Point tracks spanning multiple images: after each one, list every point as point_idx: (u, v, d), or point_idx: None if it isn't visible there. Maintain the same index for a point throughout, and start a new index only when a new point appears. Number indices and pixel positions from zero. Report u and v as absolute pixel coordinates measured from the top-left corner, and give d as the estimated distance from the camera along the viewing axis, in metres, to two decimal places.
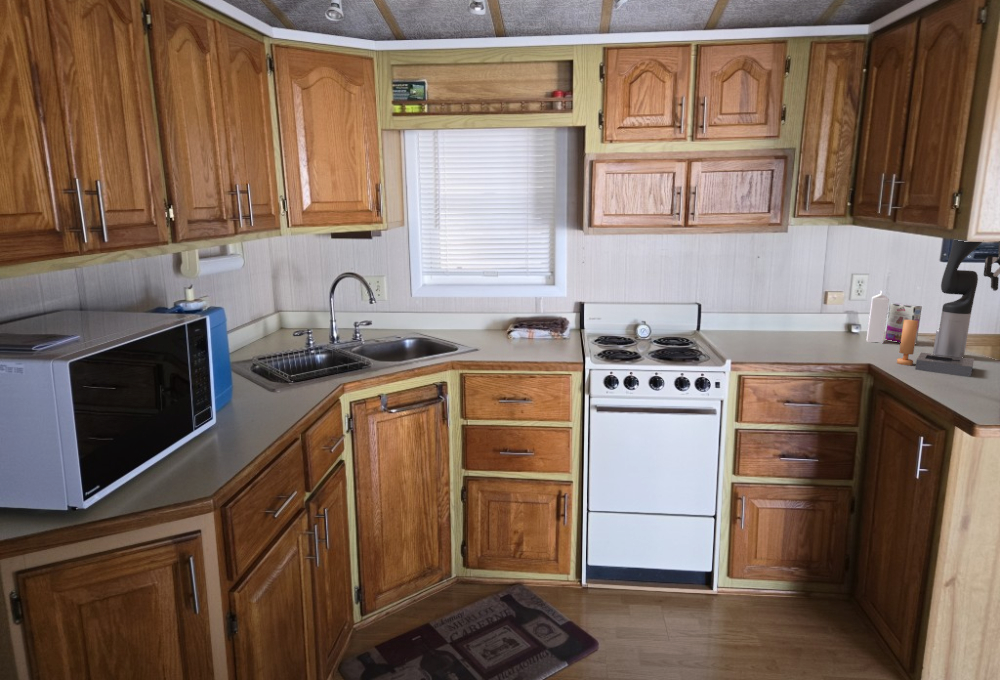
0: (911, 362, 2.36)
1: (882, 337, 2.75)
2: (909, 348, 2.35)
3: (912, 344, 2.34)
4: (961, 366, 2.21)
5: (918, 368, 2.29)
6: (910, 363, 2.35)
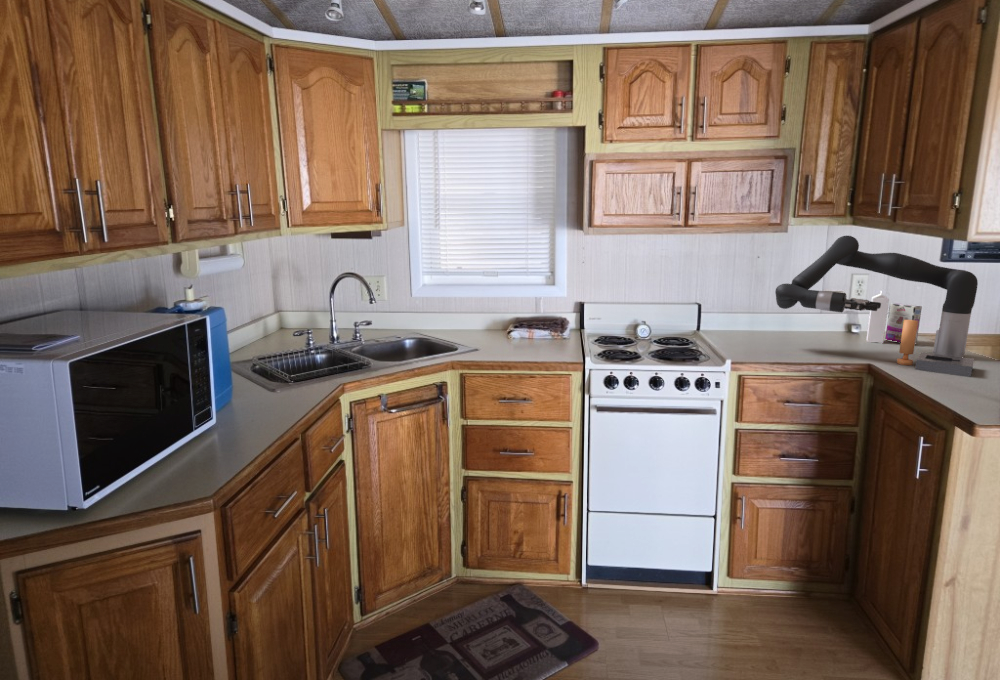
0: (911, 362, 2.36)
1: (882, 337, 2.75)
2: (909, 348, 2.35)
3: (912, 344, 2.34)
4: (961, 366, 2.21)
5: (918, 368, 2.29)
6: (910, 363, 2.35)
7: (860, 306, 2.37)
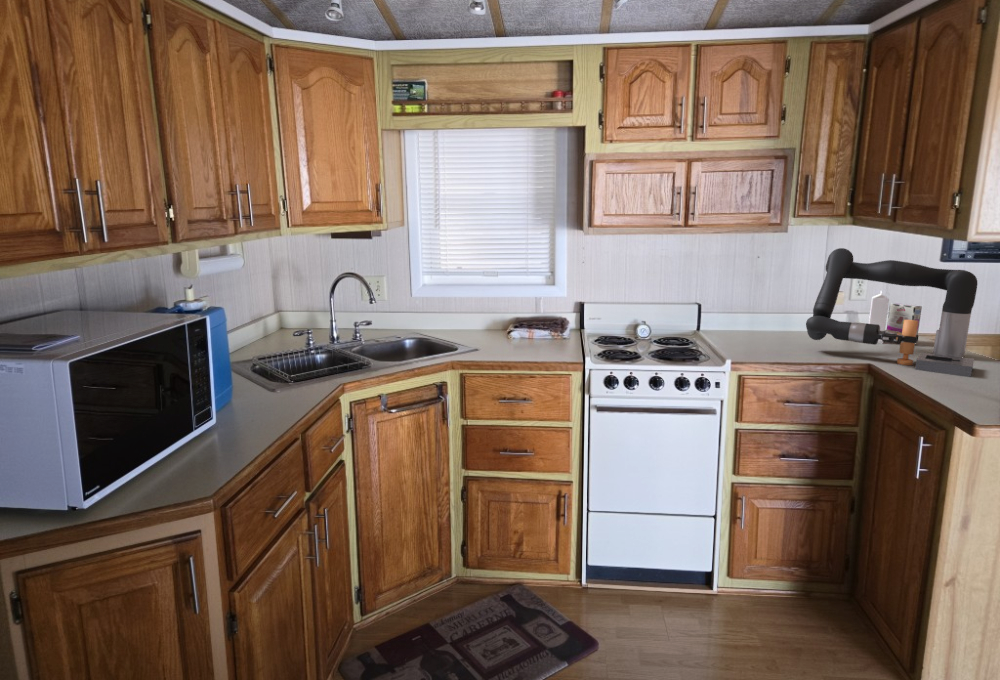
0: (911, 362, 2.36)
1: None
2: (909, 348, 2.35)
3: (912, 344, 2.34)
4: (961, 366, 2.21)
5: (918, 368, 2.29)
6: (910, 363, 2.36)
7: (899, 338, 2.33)
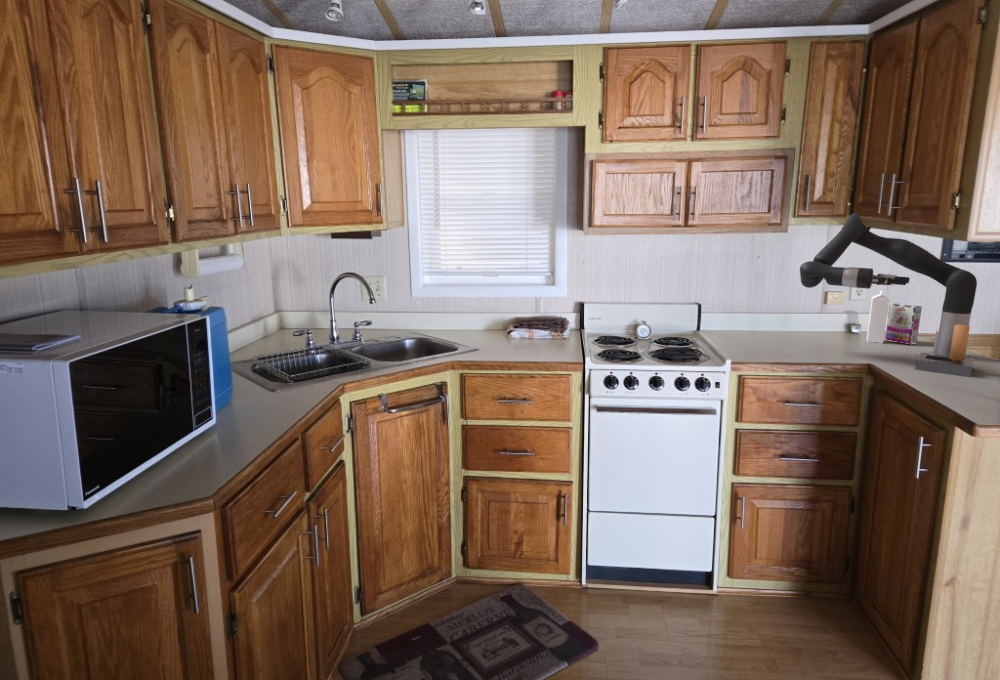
0: None
1: (882, 337, 2.75)
2: (960, 354, 2.26)
3: (963, 350, 2.25)
4: (961, 366, 2.21)
5: (918, 368, 2.29)
6: None
7: (888, 280, 2.32)
